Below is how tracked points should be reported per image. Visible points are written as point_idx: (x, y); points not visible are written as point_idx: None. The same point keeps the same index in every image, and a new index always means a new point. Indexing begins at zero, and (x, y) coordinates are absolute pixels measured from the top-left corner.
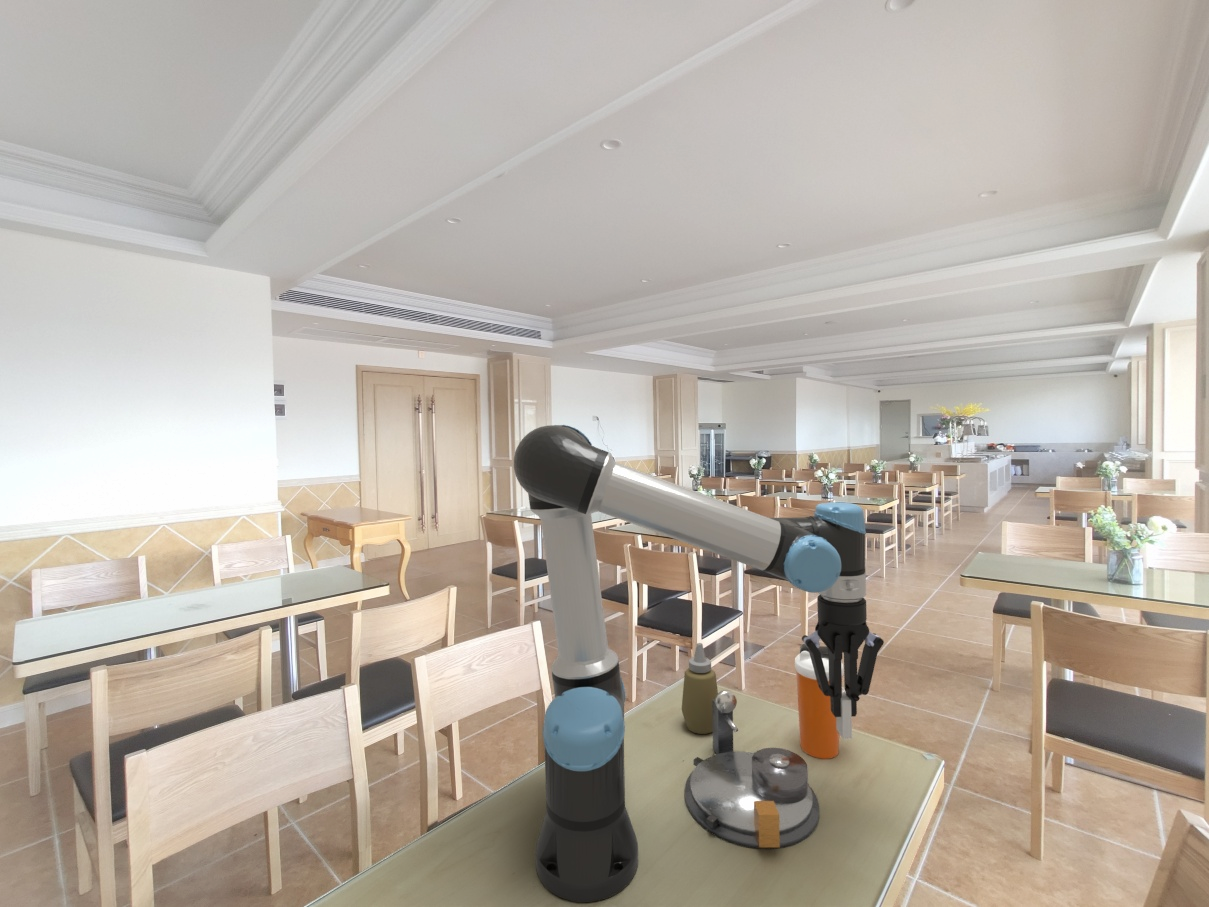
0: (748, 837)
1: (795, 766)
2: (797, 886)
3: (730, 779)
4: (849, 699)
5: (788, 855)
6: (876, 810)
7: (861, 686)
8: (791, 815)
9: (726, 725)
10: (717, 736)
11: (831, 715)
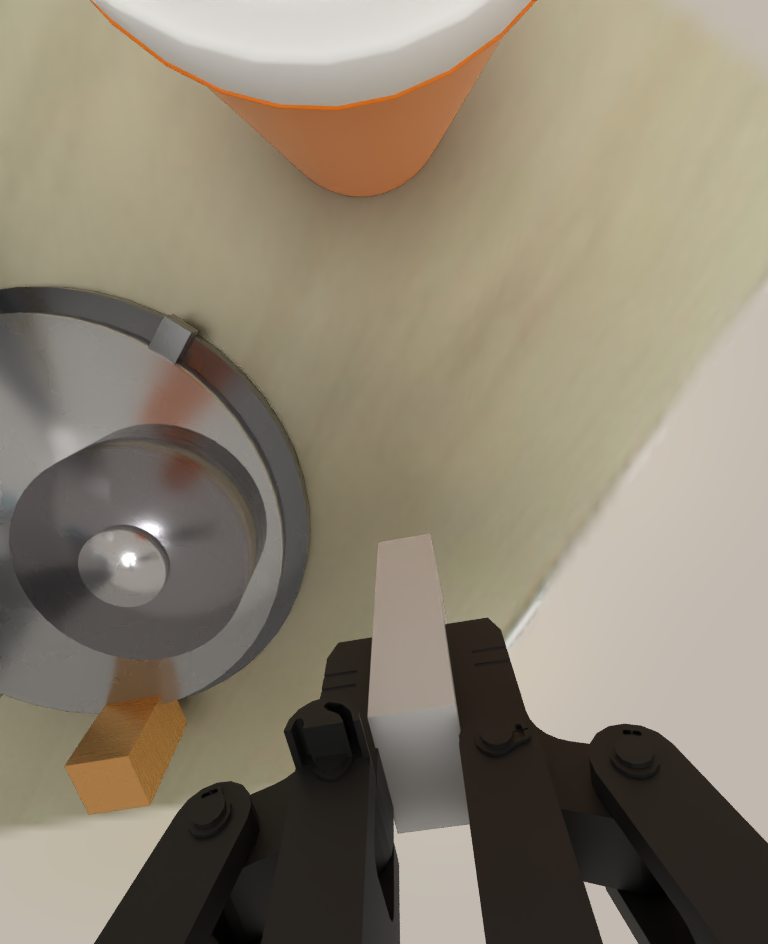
0: None
1: (196, 574)
2: (236, 774)
3: None
4: (467, 814)
5: (216, 699)
6: (494, 492)
7: (631, 924)
8: (210, 652)
9: None
10: None
11: (410, 148)
